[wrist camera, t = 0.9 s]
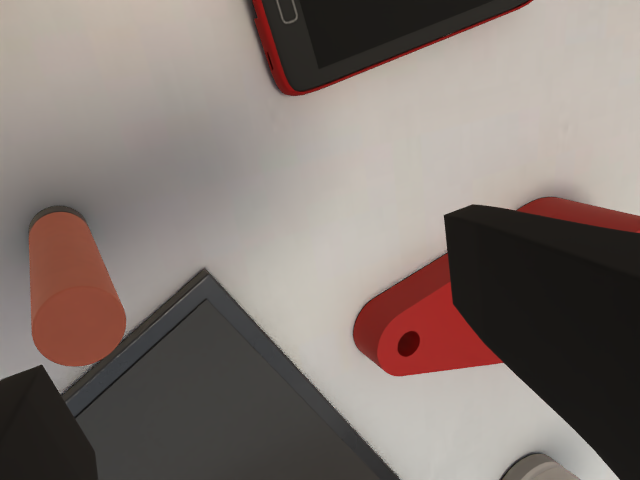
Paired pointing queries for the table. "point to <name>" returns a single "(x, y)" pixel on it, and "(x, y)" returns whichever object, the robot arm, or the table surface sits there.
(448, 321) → the lever
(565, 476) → the travel mug
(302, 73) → the cell phone
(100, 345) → the stylus
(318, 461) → the tablet
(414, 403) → the table surface
